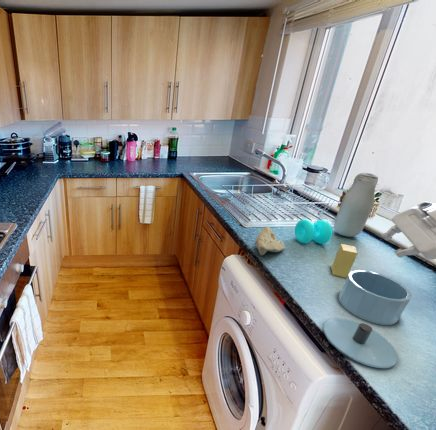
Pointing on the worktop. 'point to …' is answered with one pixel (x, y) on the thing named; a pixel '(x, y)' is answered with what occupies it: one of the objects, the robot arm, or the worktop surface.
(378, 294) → the pot
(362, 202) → the grey bottle
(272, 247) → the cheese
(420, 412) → the worktop surface
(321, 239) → the donuts
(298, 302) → the worktop surface
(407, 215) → the robot arm
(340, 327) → the pot lid
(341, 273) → the butter
